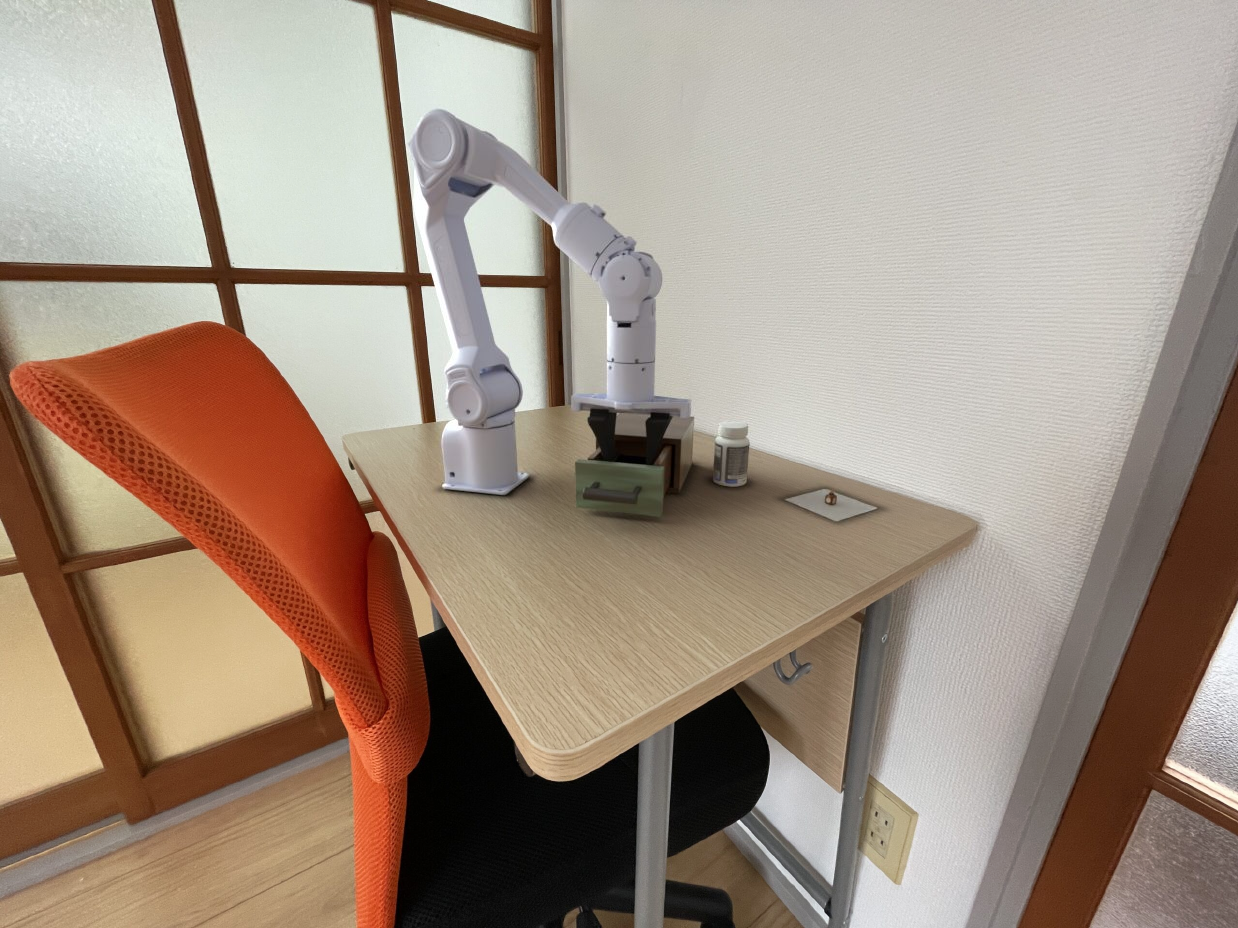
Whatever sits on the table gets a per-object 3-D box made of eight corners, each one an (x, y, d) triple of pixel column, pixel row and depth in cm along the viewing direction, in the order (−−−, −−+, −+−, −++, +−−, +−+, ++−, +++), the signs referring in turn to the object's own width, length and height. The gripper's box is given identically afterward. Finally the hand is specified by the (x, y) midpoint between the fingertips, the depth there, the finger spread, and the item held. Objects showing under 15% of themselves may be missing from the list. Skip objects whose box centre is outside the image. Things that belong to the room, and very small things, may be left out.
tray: (605, 489, 64) (605, 468, 64) (618, 472, 70) (618, 453, 70) (641, 492, 63) (642, 472, 63) (652, 475, 69) (652, 456, 68)
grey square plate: (878, 508, 66) (880, 494, 66) (836, 521, 62) (838, 506, 62) (824, 488, 73) (826, 475, 72) (784, 499, 69) (785, 486, 68)
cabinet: (679, 494, 70) (681, 439, 68) (596, 485, 73) (595, 432, 71) (692, 463, 83) (694, 416, 81) (620, 457, 86) (621, 411, 83)
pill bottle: (751, 480, 76) (756, 423, 73) (739, 489, 72) (744, 430, 69) (720, 474, 78) (723, 418, 76) (707, 483, 74) (710, 425, 72)
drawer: (654, 531, 57) (655, 481, 56) (564, 520, 60) (563, 472, 58) (677, 481, 72) (679, 441, 71) (604, 474, 75) (604, 435, 73)
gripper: (561, 362, 60) (564, 474, 64) (687, 367, 57) (682, 485, 61) (580, 355, 67) (582, 458, 71) (695, 360, 63) (690, 467, 67)
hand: (629, 469), depth 66 cm, fingers closed on tray, 4 cm apart
